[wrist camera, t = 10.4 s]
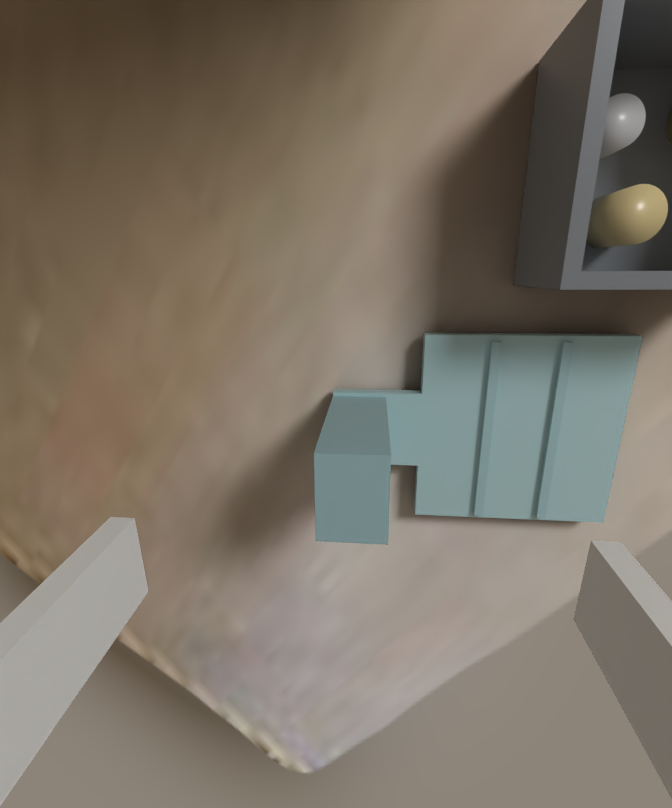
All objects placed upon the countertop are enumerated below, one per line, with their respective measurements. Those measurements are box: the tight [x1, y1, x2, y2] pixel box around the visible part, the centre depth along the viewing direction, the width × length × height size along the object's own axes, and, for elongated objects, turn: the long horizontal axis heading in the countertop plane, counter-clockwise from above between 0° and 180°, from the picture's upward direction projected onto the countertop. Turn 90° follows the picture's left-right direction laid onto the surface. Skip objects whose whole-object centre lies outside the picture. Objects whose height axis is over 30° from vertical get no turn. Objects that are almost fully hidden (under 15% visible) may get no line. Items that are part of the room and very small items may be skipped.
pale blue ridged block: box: [314, 333, 643, 545], centre depth 21 cm, size 11×16×9 cm
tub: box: [513, 0, 672, 290], centre depth 18 cm, size 10×10×6 cm
